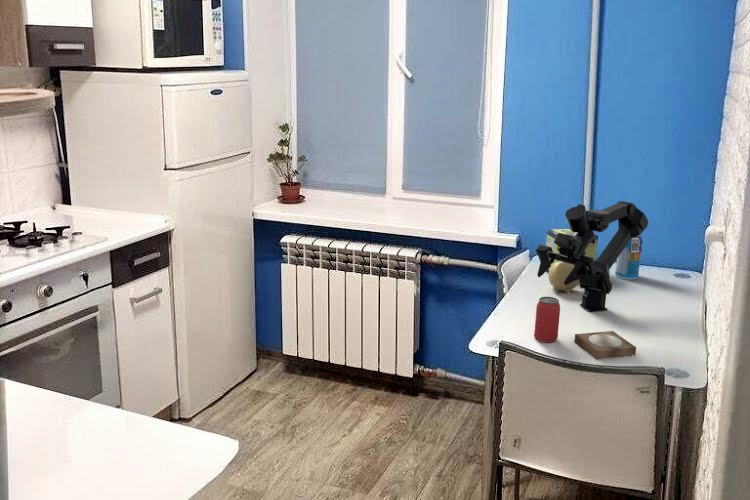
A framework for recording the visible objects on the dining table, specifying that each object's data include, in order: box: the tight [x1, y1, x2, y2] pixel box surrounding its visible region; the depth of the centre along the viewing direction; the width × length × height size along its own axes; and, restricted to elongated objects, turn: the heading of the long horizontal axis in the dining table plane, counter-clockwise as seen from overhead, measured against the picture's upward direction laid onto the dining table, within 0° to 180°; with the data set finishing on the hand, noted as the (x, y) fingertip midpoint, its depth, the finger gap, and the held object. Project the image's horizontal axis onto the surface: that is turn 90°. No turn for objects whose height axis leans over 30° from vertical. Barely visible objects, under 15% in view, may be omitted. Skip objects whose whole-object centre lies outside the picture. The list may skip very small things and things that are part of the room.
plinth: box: [573, 330, 637, 360], centre depth 214 cm, size 12×12×3 cm
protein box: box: [545, 228, 599, 274], centre depth 278 cm, size 10×16×16 cm
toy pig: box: [548, 261, 580, 294], centre depth 260 cm, size 10×12×11 cm
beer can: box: [533, 296, 561, 344], centre depth 219 cm, size 7×7×12 cm
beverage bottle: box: [614, 234, 644, 281], centre depth 275 cm, size 8×8×20 cm
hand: (551, 280), depth 224 cm, fingers open, 9 cm apart
